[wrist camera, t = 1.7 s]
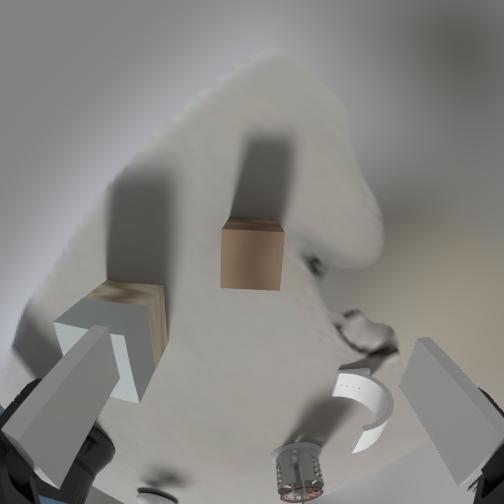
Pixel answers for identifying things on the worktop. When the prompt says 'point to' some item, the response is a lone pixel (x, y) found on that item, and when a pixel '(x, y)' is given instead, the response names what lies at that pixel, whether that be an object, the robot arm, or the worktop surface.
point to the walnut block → (251, 254)
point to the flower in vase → (152, 499)
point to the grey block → (114, 340)
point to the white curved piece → (365, 402)
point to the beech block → (140, 296)
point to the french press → (298, 471)
